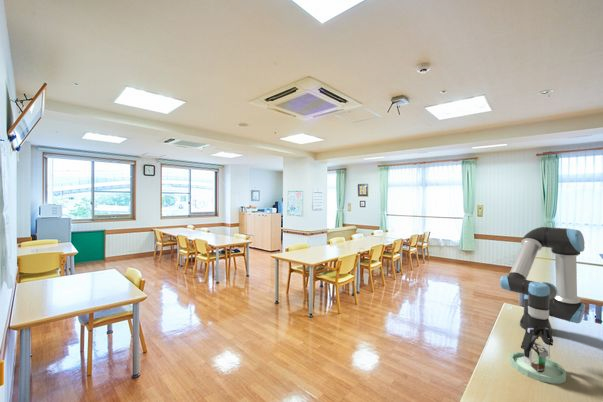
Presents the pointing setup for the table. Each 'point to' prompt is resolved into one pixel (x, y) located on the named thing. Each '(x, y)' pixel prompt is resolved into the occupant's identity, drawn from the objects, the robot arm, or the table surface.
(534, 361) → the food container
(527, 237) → the robot arm
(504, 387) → the table surface
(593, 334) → the table surface
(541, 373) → the tray
